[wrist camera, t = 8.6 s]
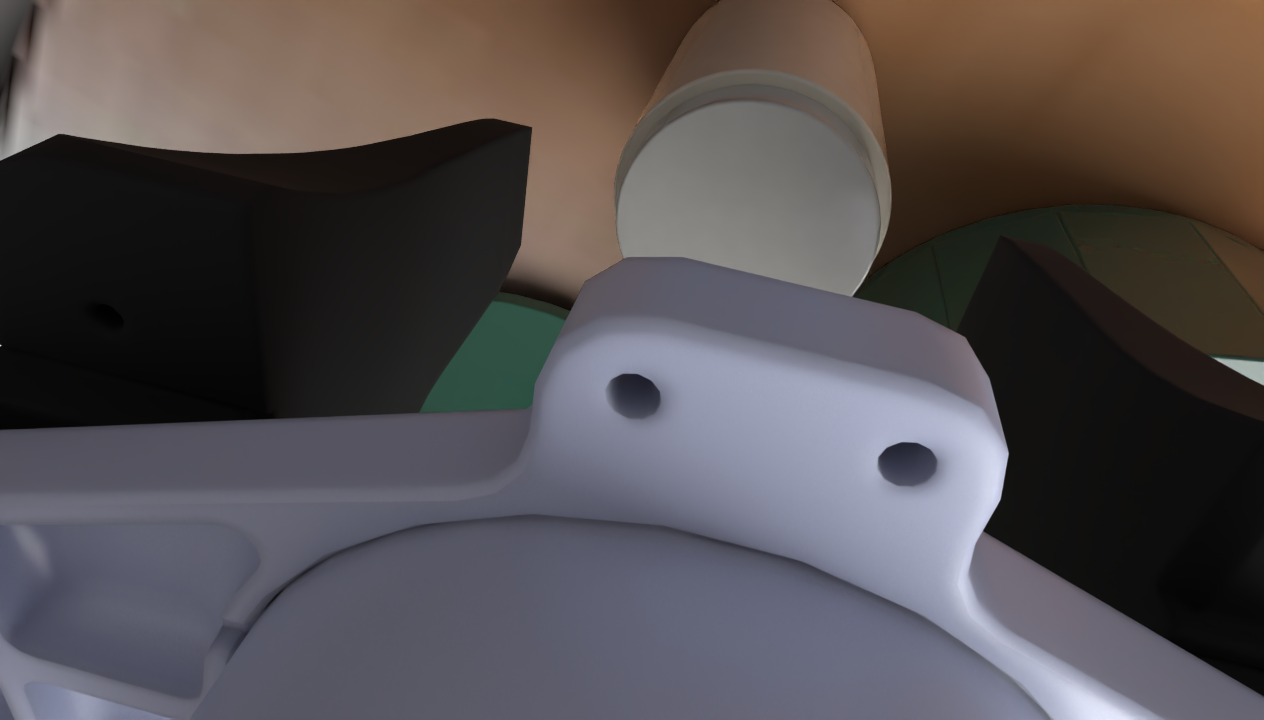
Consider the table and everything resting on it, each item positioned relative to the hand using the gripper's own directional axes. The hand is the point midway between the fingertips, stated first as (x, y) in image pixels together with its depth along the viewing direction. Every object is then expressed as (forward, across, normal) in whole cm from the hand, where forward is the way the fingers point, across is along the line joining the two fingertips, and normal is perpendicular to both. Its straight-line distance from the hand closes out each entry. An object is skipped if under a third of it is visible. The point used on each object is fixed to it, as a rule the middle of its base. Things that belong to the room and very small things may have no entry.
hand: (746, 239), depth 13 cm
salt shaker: (+7, 0, 0) cm, 7 cm away
